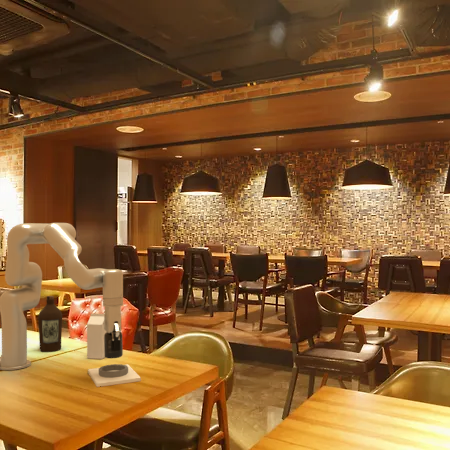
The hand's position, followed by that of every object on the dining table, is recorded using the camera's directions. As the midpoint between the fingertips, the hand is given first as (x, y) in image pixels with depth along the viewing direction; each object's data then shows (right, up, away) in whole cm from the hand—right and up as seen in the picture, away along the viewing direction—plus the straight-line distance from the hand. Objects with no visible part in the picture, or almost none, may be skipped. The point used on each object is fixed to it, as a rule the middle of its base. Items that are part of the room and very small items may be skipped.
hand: (113, 348), depth 188 cm
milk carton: (-13, -11, +29) cm, 34 cm away
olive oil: (-39, -12, +43) cm, 59 cm away
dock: (0, -11, 0) cm, 11 cm away
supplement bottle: (0, -3, 0) cm, 3 cm away
